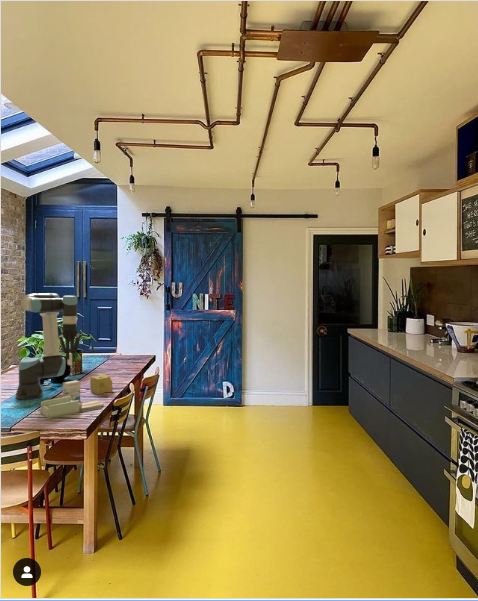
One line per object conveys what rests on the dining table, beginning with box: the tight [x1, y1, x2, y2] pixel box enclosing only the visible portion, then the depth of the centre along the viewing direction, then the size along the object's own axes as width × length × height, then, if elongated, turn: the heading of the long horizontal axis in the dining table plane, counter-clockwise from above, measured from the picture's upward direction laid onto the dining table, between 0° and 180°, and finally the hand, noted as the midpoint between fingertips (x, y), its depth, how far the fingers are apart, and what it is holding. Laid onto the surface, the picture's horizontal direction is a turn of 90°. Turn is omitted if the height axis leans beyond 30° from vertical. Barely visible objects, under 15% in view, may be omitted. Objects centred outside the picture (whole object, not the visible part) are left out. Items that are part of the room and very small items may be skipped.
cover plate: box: [79, 399, 105, 412], centre depth 238 cm, size 9×15×4 cm, turn 134°
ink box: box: [62, 380, 81, 401], centre depth 250 cm, size 9×5×12 cm, turn 141°
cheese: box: [89, 374, 114, 395], centre depth 272 cm, size 10×11×10 cm
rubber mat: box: [79, 406, 103, 413], centre depth 238 cm, size 14×12×1 cm
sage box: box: [40, 396, 80, 420], centre depth 227 cm, size 12×16×7 cm
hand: (69, 364), depth 234 cm, fingers closed
